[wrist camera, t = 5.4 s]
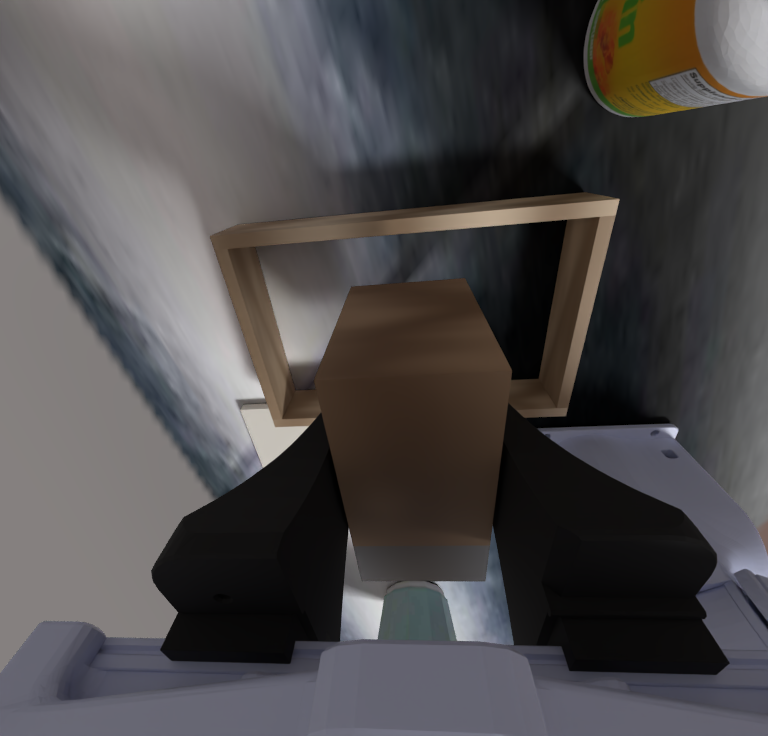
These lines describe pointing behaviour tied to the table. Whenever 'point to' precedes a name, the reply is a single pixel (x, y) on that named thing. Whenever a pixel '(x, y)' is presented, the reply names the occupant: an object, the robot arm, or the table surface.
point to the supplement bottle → (675, 54)
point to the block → (416, 428)
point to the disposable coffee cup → (416, 613)
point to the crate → (577, 262)
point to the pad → (268, 432)
